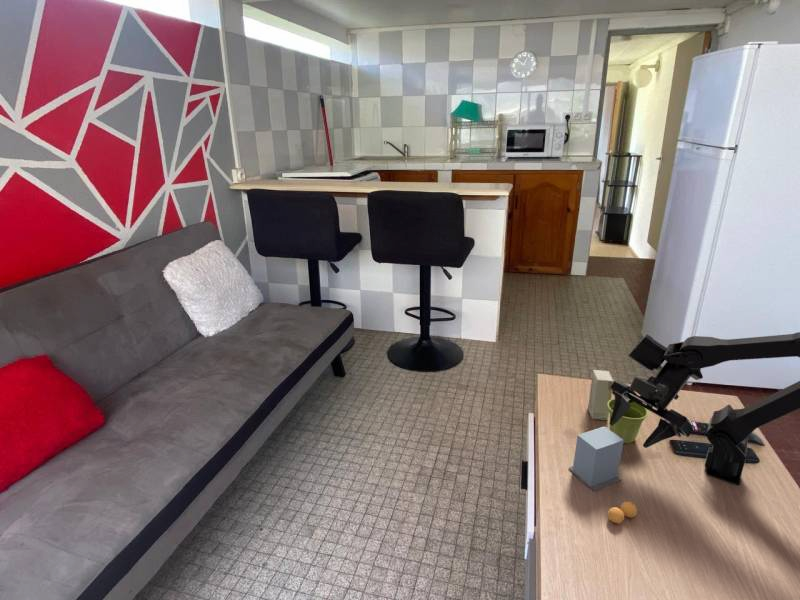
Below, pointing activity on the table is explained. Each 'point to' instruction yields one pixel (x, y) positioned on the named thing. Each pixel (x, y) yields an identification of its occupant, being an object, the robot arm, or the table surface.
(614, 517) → the ball
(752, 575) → the table surface
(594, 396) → the skincare box
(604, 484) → the pad
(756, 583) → the table surface
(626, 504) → the ball
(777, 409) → the robot arm
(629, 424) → the plant pot
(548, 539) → the table surface
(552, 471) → the table surface
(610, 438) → the grey rectangular block
